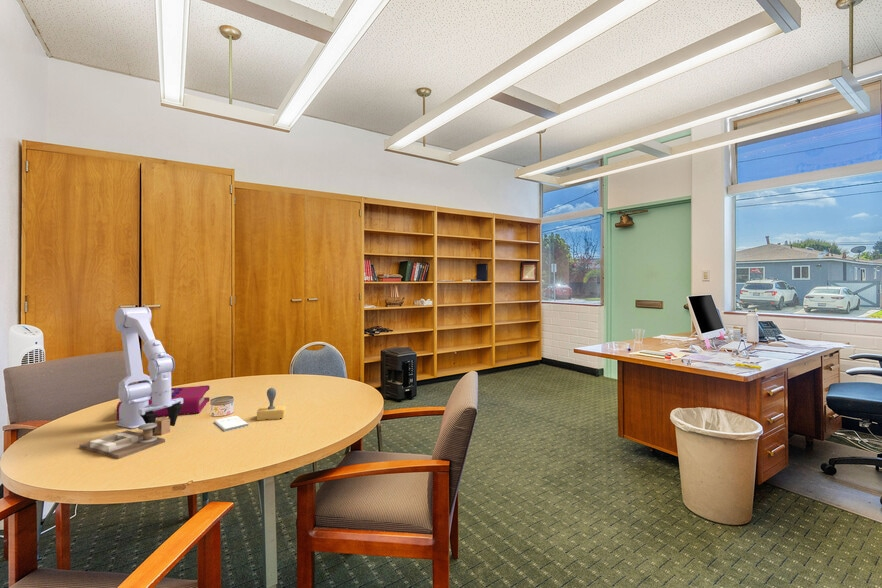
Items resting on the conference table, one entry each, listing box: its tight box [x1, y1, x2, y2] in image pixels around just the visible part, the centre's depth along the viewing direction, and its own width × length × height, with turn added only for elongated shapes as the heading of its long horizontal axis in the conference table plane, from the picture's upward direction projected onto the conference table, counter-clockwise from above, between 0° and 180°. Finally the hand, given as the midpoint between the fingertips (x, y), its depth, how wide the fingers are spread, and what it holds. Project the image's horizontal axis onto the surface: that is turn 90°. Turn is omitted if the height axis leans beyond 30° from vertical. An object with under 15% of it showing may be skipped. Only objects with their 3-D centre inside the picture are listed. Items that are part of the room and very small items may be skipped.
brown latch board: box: [78, 423, 166, 459], centre depth 132 cm, size 20×14×6 cm
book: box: [116, 384, 210, 421], centre depth 169 cm, size 21×28×8 cm
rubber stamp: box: [256, 387, 287, 421], centre depth 161 cm, size 10×6×12 cm, turn 103°
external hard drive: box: [214, 415, 249, 432], centre depth 153 cm, size 2×8×12 cm
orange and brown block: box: [153, 416, 171, 436], centre depth 143 cm, size 4×3×5 cm
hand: (162, 428), depth 143 cm, fingers open, 7 cm apart
